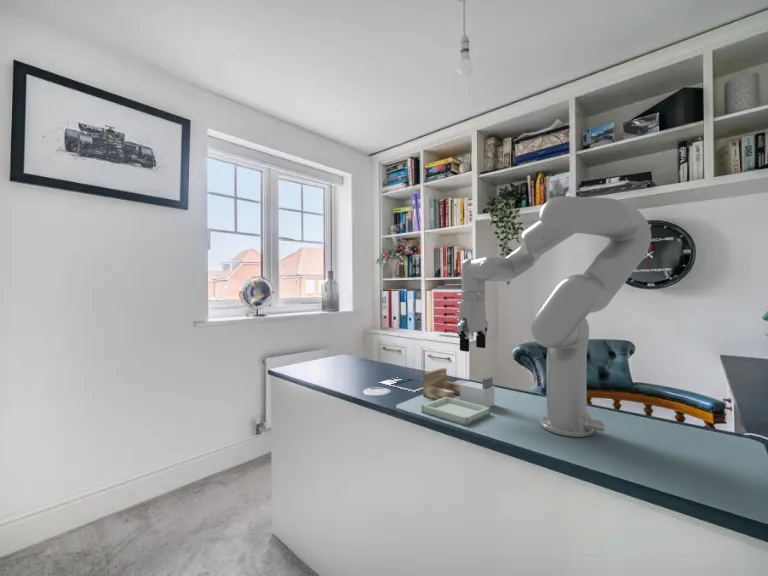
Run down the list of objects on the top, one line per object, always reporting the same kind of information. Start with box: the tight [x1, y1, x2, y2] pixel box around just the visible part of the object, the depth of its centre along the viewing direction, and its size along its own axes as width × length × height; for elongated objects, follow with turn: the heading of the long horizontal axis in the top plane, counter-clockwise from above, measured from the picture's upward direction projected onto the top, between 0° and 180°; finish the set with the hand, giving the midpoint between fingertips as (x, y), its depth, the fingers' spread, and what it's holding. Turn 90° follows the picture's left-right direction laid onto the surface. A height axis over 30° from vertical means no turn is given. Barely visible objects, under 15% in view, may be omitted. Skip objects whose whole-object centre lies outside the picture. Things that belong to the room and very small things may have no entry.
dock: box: [422, 367, 462, 400], centre depth 126 cm, size 12×12×8 cm
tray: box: [421, 397, 491, 426], centre depth 108 cm, size 16×13×2 cm
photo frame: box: [378, 378, 423, 393], centre depth 142 cm, size 15×1×18 cm
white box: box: [459, 376, 495, 408], centre depth 118 cm, size 9×6×9 cm, turn 45°
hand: (472, 349), depth 119 cm, fingers open, 9 cm apart
